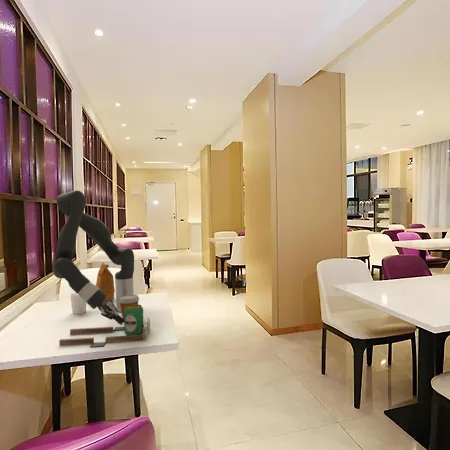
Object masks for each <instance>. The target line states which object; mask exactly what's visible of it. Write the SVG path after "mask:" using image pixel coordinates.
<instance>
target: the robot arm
mask: <svg viewBox="0 0 450 450" xmlns="http://www.w3.org/2000/svg"><path fill="white" fill-rule="evenodd" d="M56 205H57V208H59V210H60V211H61V212H62V213H63V214H64V215H65V216H66V217H68V218H67V220H66V222H65V224H64V225H63V226H62V228H61V230H60V231H59V235H58V238H57V244H56V255H55V258H54V264H53V268H52V273H53V275H54V276H55V277H56V278H57V279H62V280H63V279H64V280H65V281H67V283H68V287H70V288H71V289H72V290H73V291H74V293H77V294H78V295H79V296H80V297H81V298H82V299H83V300H84V301H85V302H86V305H88V306H89V307H90V308H91V309H93V310H94V309H96V308H98V310H99V311H100V312H101V313H100V316H103V317H105V318H107V319H109V320H111V321H112V320H114V321H115V322H116V323H117V324H118V325H120V326H122V325H123V324H124V323H123V322H124V321H125V320H124V319H123V318H122V315H120V313H121V307H120V303H119V298H120V297H121V296H124V295H135V294H134V273H135V253H134V251H133V249H132V248H130V247H129V248H128V247H119V246H118V245H116V243H115V242H113V239H112V233H111V230H110V229H109V228H108V227H107V225H106V224H105V223H104V222H103V221H102V220H100V219H99V218H96V217H95V216H92V215H90V214H88V213H85V210H86V205H87V199H86V196H85V194H84V192H82V191H80V190H72V191H69V192H64V193H62V194H59V195H58V196H57V197H56ZM79 228H80V229H82V231H83V232H84V233H85V234H86V235H87V236H88V237H89V238H90V239H91V240H92V241H93V242H94V243H95V244H96V245H97V246H98V247H99V248H100V249H101V250H102V251H103V252H104V253H105V255H106V256H107V257H108V259H109V260H110V261H111V263H113V264H114V265H117V266H120V270H119V271H117V272H115V274H114V279H115V281H114V287H115V299H116V300H115V304H114V302H110V301H107V300H105V298H106V297H107V295H106V294H105V293H104V292H103V291H102V290H100V289H99V288H98V287H97V286H96V283H94V282H92V281H91V280H90V279H88V277H86V276H85V275H84V274H83V273H82V272H81V270H80V269H79V268H78V266H77V265H76V264H75V263H74V262H73V256H74V253H75V249H76V242H77V241H76V240H77V236H78V235H77V234H78V231H79Z"/></svg>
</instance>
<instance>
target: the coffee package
mask: <svg viewBox="0 0 450 450" xmlns="http://www.w3.org/2000/svg"><path fill="white" fill-rule="evenodd" d="M109 267H110V265H109V264H105V263H104V262H101V264H100V266H99V270H98V272H97V276H96V282H95V285H96V286H97V287H98V288H99V289H100V290H102V291H103V292H104V293H105V294H106V295H107V297H106V298H105V300H107V301H108V302H110V301H113V300H115V293H116V288H115V281H114V279H115V278H114V275H113V274H112V272H111V270H109Z"/></svg>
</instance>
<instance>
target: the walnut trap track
mask: <svg viewBox="0 0 450 450" xmlns="http://www.w3.org/2000/svg"><path fill="white" fill-rule="evenodd" d="M150 330H151V320H150V317H147V318H146V320H145V322H144V327H143V334H142V335H127V336H126V335H115V336H114V335H113V336H106V337H105V339H104V340H105V341H99V342H96V341H95V338H94V336H93V337H78V338H77V337H76V338H61V339H60V340H59V341H58V342H59V346H75V345H77V346H78V345H90V346H89V348H103V347H104V346H105V344H108V343H109V344H110V343H127V342H126V341H129V342H140V341H142V340H147V339H146V338H148V336H149V332H150ZM120 331H125V328H124V326H116V327H114V326H98V327H82V328H71V329H70V330H69V334H70V335H86V334H87V335H88V334H89V335H90V334H105V333H106V334H107V333H113V332H120ZM147 335H148V336H147ZM142 342H143V341H142Z"/></svg>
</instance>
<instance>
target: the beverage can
mask: <svg viewBox="0 0 450 450" xmlns="http://www.w3.org/2000/svg"><path fill="white" fill-rule="evenodd" d="M124 320H125V321H124V323H123V324H124V326H123V327H124V328H125V332H124V334H125V336H127V335H141V334H142V335H143V327H144V325H145V322H144V308H143V306H142V305H141V304H139V303H138V304H133V305H128V306H126V307H125V309H124Z"/></svg>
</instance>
